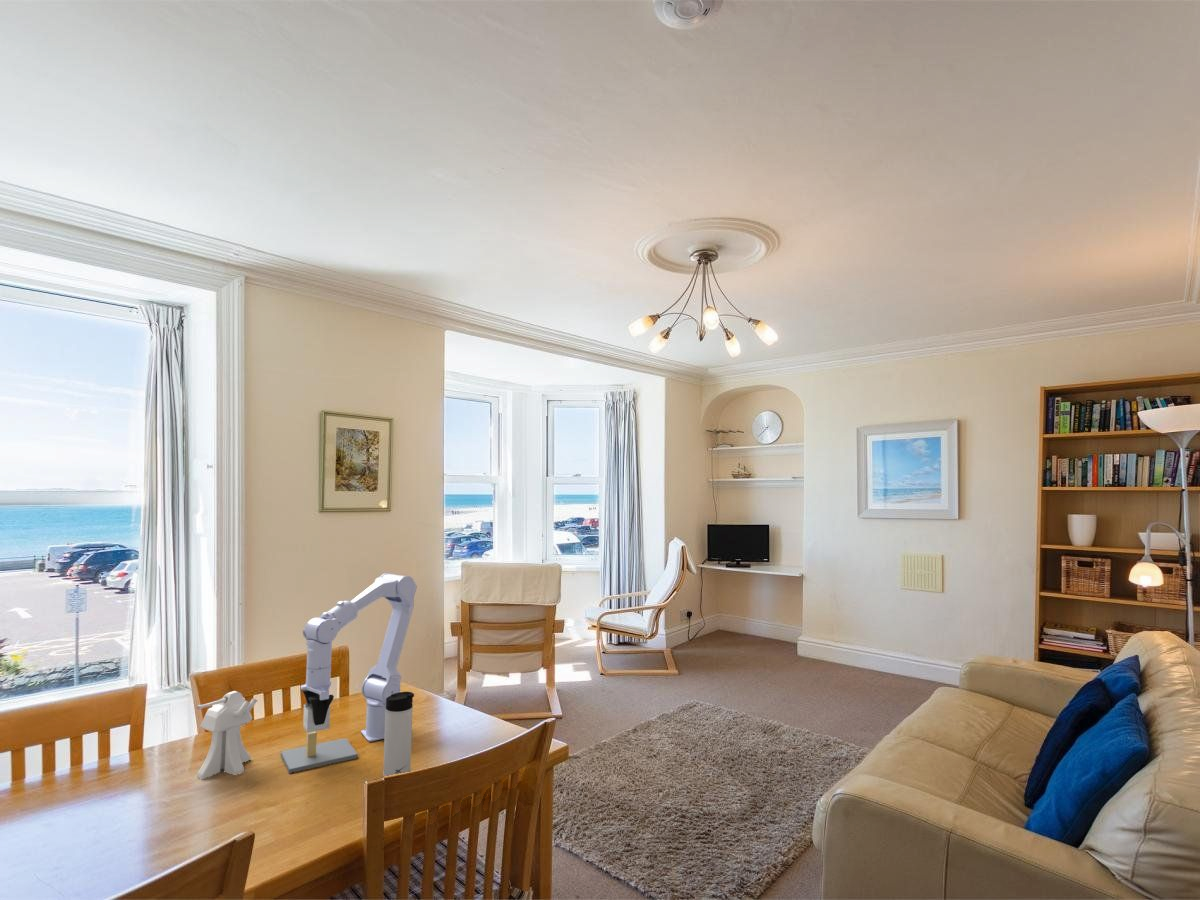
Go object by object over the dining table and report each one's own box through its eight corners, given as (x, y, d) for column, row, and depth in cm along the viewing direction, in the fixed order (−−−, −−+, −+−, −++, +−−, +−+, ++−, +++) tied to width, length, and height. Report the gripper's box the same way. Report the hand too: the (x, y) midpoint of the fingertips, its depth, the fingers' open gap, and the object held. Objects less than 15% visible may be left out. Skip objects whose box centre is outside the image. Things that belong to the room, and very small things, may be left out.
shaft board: (345, 741, 174) (346, 717, 174) (357, 757, 164) (358, 732, 164) (280, 755, 164) (281, 729, 165) (289, 773, 155) (290, 746, 155)
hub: (324, 721, 166) (325, 700, 166) (329, 728, 162) (330, 706, 162) (303, 726, 163) (303, 704, 163) (307, 733, 159) (308, 710, 159)
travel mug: (403, 785, 150) (406, 698, 151) (377, 782, 151) (380, 696, 152) (416, 773, 156) (419, 690, 157) (391, 770, 158) (394, 687, 158)
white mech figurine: (179, 774, 153) (183, 697, 154) (233, 753, 165) (237, 682, 166) (209, 786, 147) (213, 707, 148) (263, 764, 159) (266, 690, 160)
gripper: (295, 661, 167) (293, 714, 166) (308, 676, 155) (305, 733, 154) (324, 657, 171) (322, 709, 170) (338, 671, 159) (336, 727, 158)
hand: (316, 720), depth 163 cm, fingers closed on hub, 5 cm apart
